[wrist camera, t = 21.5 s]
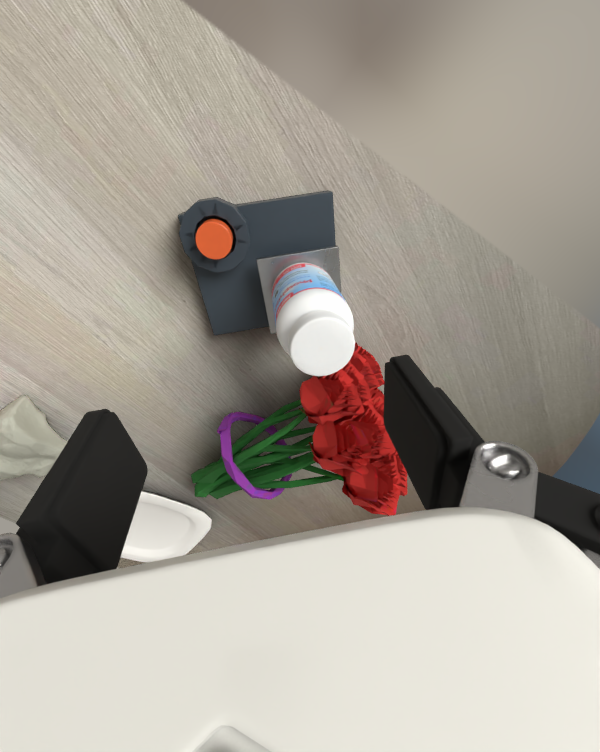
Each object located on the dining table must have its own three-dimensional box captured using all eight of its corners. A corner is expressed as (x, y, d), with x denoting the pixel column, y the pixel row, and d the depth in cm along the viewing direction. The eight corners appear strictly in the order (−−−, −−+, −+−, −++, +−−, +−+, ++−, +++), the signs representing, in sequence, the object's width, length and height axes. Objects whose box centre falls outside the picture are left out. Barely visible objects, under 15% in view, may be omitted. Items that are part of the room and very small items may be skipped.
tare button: (193, 221, 28) (190, 224, 27) (228, 216, 28) (227, 219, 27) (203, 257, 30) (201, 262, 28) (236, 252, 30) (235, 256, 28)
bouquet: (180, 415, 51) (323, 296, 36) (259, 460, 58) (405, 376, 44) (125, 550, 36) (328, 442, 22) (241, 586, 44) (449, 524, 29)
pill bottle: (291, 248, 29) (309, 289, 20) (345, 281, 32) (384, 332, 22) (259, 304, 32) (262, 365, 22) (311, 331, 34) (334, 395, 25)
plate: (71, 535, 54) (66, 545, 53) (117, 472, 47) (113, 482, 46) (173, 560, 62) (171, 570, 60) (224, 509, 55) (224, 518, 54)
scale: (177, 201, 30) (169, 205, 27) (328, 178, 30) (336, 180, 27) (215, 328, 37) (212, 343, 34) (336, 309, 37) (343, 321, 35)
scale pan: (256, 258, 30) (256, 259, 29) (337, 245, 30) (338, 246, 30) (270, 331, 34) (270, 334, 34) (341, 320, 34) (342, 322, 34)
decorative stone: (45, 479, 44) (-53, 516, 35) (17, 420, 45) (-88, 441, 36) (93, 444, 41) (-2, 475, 31) (61, 381, 41) (-41, 393, 32)
